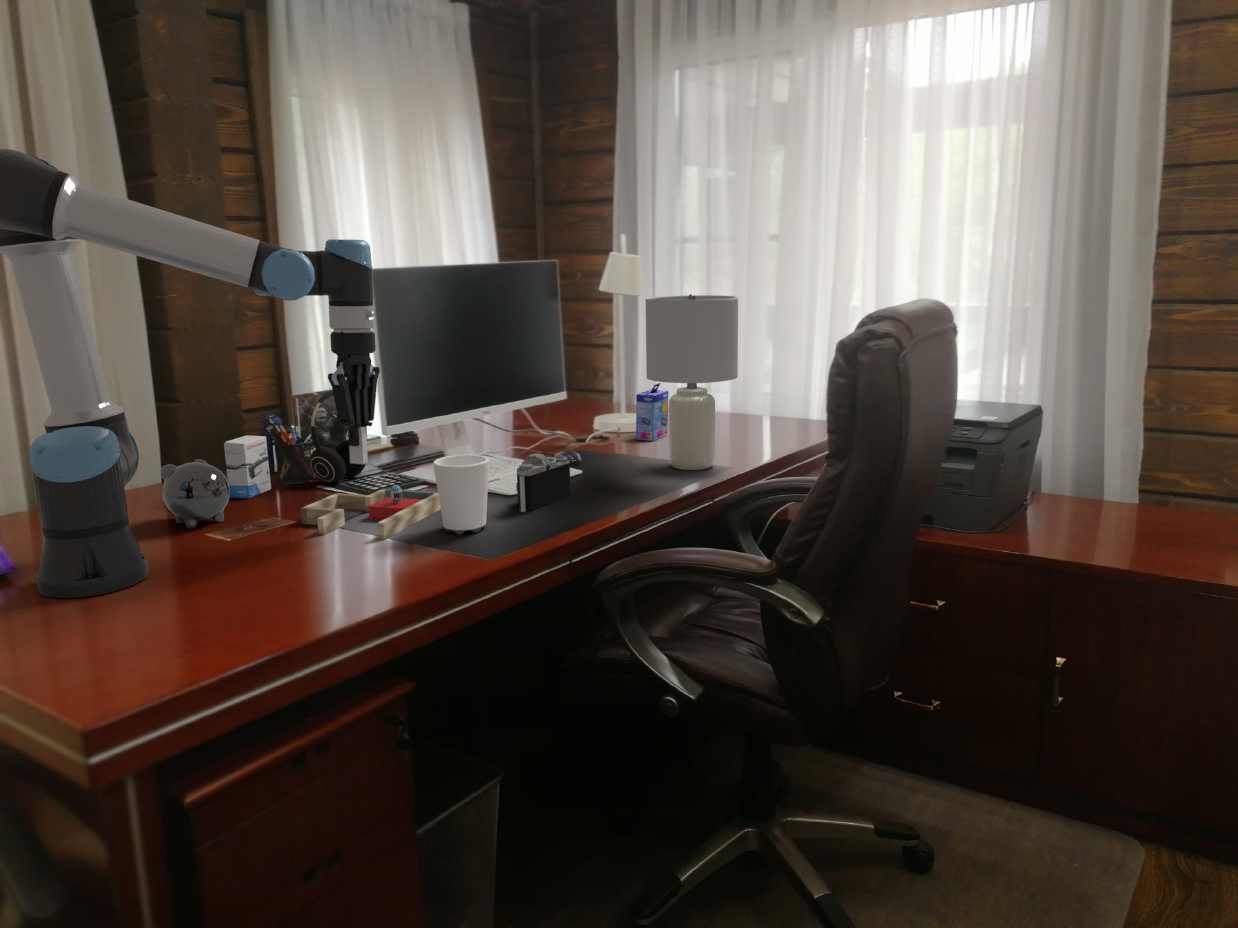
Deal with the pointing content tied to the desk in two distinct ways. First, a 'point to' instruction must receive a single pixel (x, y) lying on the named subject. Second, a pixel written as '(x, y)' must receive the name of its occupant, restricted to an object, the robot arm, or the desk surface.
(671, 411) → the lamp
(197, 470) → the piggy bank
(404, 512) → the channel
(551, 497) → the camera
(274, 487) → the desk surface
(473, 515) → the cup
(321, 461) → the headphones
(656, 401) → the ink cartridge box
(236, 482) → the ink box
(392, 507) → the red rectangular block
